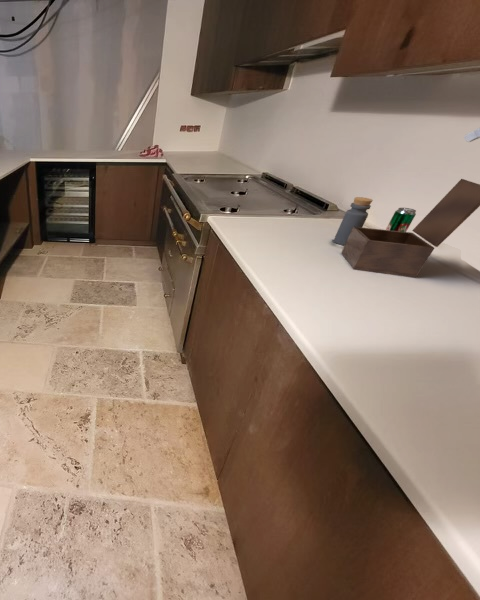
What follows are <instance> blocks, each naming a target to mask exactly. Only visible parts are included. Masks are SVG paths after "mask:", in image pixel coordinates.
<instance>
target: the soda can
mask: <svg viewBox="0 0 480 600" xmlns="http://www.w3.org/2000/svg"><path fill="white" fill-rule="evenodd" d="M416 212H417V210H416V209H414V208H409V207H398V209H396V210H395V211H394V213H393V215H392V217H391V218H390V219H389V223H388V224H387V226H386V228H385V230H391V231H401V232H408V229H409V228H410V227H411V224H412V222H413V221H414V219H415V217H416V214H417V213H416Z"/></svg>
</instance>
